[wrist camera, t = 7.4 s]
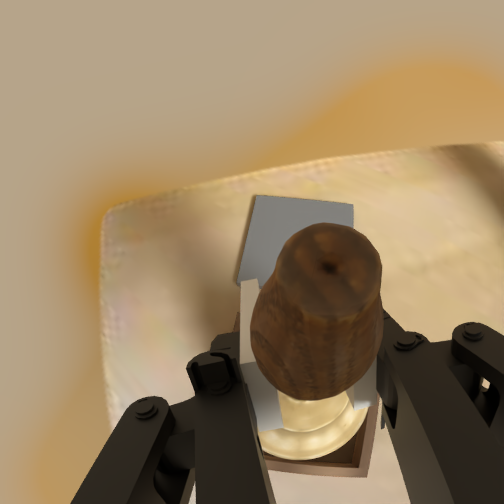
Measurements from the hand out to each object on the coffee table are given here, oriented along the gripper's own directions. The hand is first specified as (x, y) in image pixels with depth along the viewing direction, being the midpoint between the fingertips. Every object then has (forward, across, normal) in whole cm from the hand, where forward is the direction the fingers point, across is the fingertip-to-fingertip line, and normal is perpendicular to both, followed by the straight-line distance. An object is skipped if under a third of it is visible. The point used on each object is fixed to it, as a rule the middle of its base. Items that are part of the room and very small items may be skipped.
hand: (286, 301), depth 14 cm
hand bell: (+1, 0, -7) cm, 7 cm away
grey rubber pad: (+18, +4, -2) cm, 19 cm away
